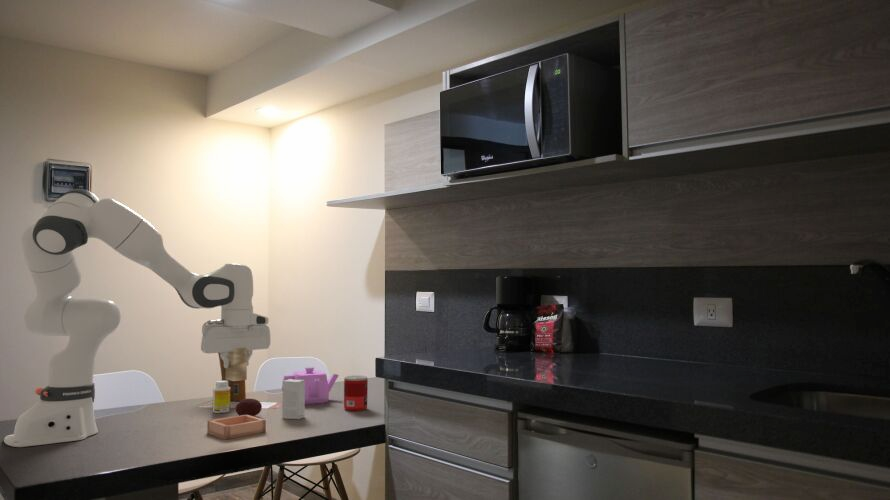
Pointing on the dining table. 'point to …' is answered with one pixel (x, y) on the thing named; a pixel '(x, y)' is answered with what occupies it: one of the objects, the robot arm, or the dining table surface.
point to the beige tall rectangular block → (237, 365)
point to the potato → (248, 407)
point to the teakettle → (314, 384)
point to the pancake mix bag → (233, 384)
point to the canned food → (355, 393)
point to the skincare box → (293, 399)
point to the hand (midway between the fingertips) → (236, 366)
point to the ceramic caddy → (236, 426)
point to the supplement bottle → (221, 397)
